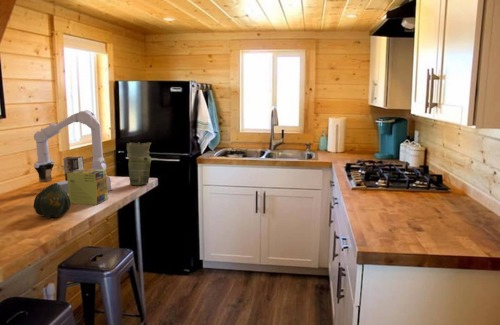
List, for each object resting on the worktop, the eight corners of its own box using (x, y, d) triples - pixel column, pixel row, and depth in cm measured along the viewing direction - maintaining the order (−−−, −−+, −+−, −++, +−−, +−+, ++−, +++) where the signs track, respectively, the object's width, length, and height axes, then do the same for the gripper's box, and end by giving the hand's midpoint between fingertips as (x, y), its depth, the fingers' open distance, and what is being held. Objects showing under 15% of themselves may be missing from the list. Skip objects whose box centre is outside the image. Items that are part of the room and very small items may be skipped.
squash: (25, 210, 170) (49, 182, 172) (28, 203, 183) (51, 176, 186) (55, 229, 175) (78, 201, 178) (56, 220, 189) (78, 194, 191)
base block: (74, 192, 223) (73, 182, 222) (61, 194, 217) (60, 184, 217) (67, 190, 227) (66, 180, 226) (54, 192, 222) (54, 182, 221)
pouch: (126, 184, 241) (123, 141, 236) (143, 180, 250) (141, 139, 245) (137, 187, 234) (135, 143, 229) (154, 183, 243) (152, 141, 238)
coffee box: (85, 183, 243) (83, 156, 240) (80, 185, 237) (78, 158, 234) (71, 183, 244) (68, 156, 241) (65, 185, 238) (62, 158, 235)
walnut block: (51, 180, 224) (50, 169, 223) (47, 182, 220) (45, 170, 219) (44, 180, 225) (43, 168, 224) (39, 182, 220) (38, 170, 219)
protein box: (97, 205, 198) (95, 173, 195) (68, 203, 201) (66, 172, 198) (108, 199, 208) (106, 169, 205) (81, 197, 211) (78, 168, 208)
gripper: (44, 151, 227) (46, 175, 230) (27, 155, 213) (30, 181, 215) (56, 151, 226) (58, 175, 229) (40, 155, 212) (42, 181, 215)
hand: (45, 178), depth 222 cm, fingers closed on walnut block, 4 cm apart
